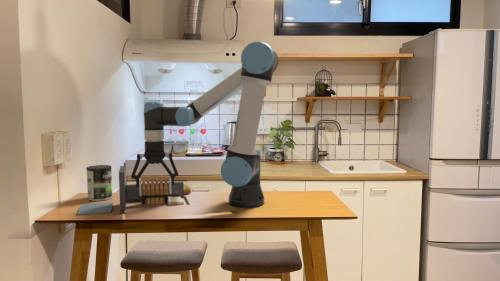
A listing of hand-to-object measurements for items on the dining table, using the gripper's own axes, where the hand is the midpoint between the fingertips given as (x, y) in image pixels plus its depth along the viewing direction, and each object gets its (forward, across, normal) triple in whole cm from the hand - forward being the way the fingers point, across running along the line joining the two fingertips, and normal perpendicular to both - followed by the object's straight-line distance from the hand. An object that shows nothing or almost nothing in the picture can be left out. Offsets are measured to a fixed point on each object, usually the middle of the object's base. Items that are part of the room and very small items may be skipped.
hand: (155, 194), depth 157 cm
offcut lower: (+5, -7, 0) cm, 9 cm away
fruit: (+5, -11, -16) cm, 20 cm away
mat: (+5, +23, -2) cm, 24 cm away
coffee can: (+5, +23, -22) cm, 32 cm away
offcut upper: (+4, -7, 0) cm, 8 cm away
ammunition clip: (+5, 0, 0) cm, 5 cm away
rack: (+5, 0, 0) cm, 5 cm away
